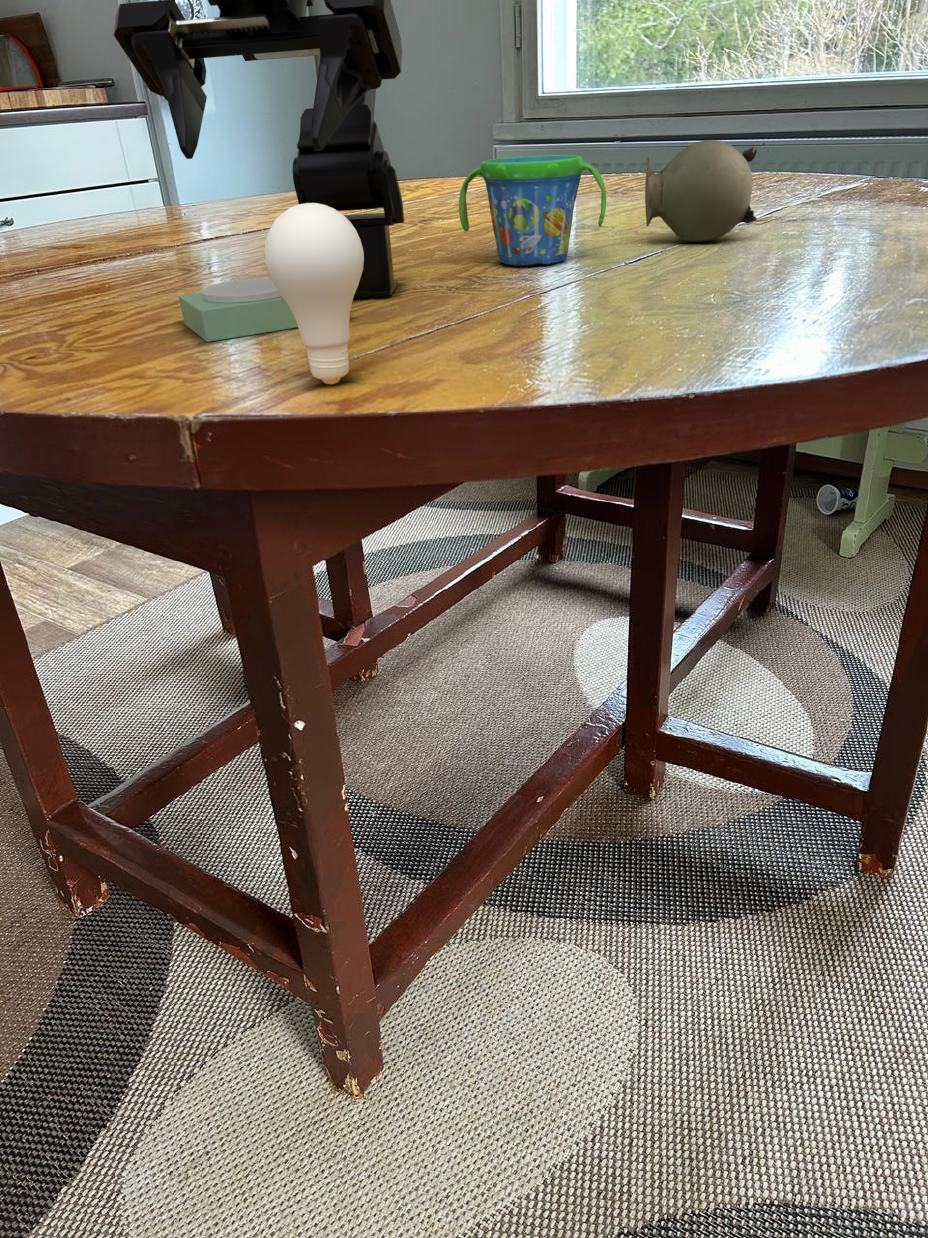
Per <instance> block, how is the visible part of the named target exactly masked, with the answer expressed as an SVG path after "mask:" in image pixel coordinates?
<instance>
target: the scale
mask: <svg viewBox="0 0 928 1238" xmlns="http://www.w3.org/2000/svg"><path fill="white" fill-rule="evenodd" d="M178 301H179V306H180V311H181V314H182V319H183V324H184V325H185V326H186V327H187V328H189V329H190V330H191V331H192V332H194V333H195V334H196V335H197V336H198V337H200V338H201V339H203V340H204V341H205V342H206V343H211V342H217V341H222V340H223V341H224V340H228V339H229V340H230V339H235V338H241V337H248V336H253V335H259V334H265V333H273V332H279V331H285V330H290V329H298V325H297V322H296V319H295V317H294V315H293V313H292V311H291V309H290V307H289V305H288V304H287V302H286V301H285V300H284V298H283V297H282V296H281V294H280V293H279V291H278V290H277V288H276V286H275V285H274V283H273V282H272V280H271V278H270V276H268V277H254V278H244V279H237V280H231V281H225V282H220V283H216V284H212V285H209V286H207V287H205V288H203V289H202V290H201V291H199V292H192V293H191V292H190V293H185V294H179V295H178Z"/></svg>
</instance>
